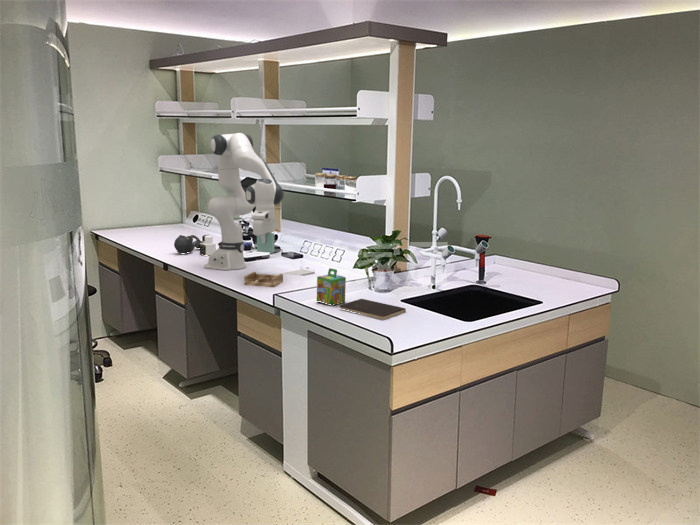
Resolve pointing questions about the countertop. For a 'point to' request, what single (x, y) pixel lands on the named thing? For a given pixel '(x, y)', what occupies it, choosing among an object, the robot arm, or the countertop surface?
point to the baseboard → (300, 272)
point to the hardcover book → (373, 308)
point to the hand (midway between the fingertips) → (265, 242)
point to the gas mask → (186, 243)
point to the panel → (268, 245)
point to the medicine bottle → (207, 245)
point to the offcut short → (264, 279)
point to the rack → (274, 282)
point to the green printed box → (331, 288)
